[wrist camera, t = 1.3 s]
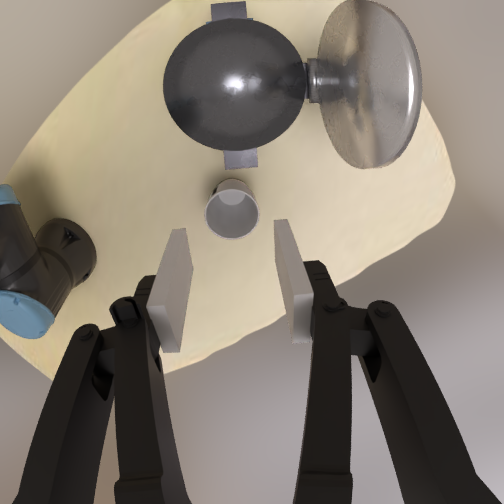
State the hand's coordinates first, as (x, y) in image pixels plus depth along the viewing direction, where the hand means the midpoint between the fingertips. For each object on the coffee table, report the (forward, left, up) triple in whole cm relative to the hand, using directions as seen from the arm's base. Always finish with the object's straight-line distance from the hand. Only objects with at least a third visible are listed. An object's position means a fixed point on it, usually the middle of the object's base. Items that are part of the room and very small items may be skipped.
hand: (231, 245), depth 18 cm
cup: (-1, -10, -37) cm, 38 cm away
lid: (+12, +9, -16) cm, 21 cm away
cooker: (+1, +9, -37) cm, 38 cm away
